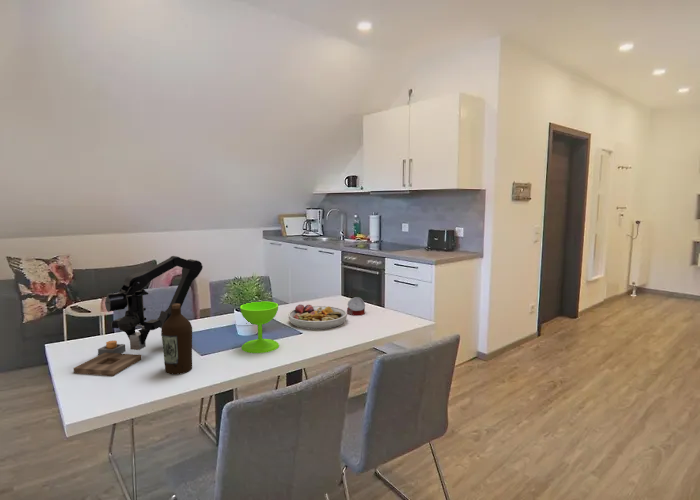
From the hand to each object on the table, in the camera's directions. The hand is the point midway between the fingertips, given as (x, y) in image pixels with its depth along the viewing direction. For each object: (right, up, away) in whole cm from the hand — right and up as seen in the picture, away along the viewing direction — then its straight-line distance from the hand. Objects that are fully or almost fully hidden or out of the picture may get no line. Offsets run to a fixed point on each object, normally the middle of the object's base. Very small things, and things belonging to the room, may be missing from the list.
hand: (137, 344), depth 174 cm
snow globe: (+89, +3, +65) cm, 111 cm away
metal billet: (0, -2, 0) cm, 2 cm away
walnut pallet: (-6, -6, -11) cm, 13 cm away
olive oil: (+22, -7, -14) cm, 27 cm away
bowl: (+69, 0, +48) cm, 84 cm away
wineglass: (+47, -4, +11) cm, 49 cm away
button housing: (-12, -4, +2) cm, 13 cm away
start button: (-12, -2, +2) cm, 12 cm away
